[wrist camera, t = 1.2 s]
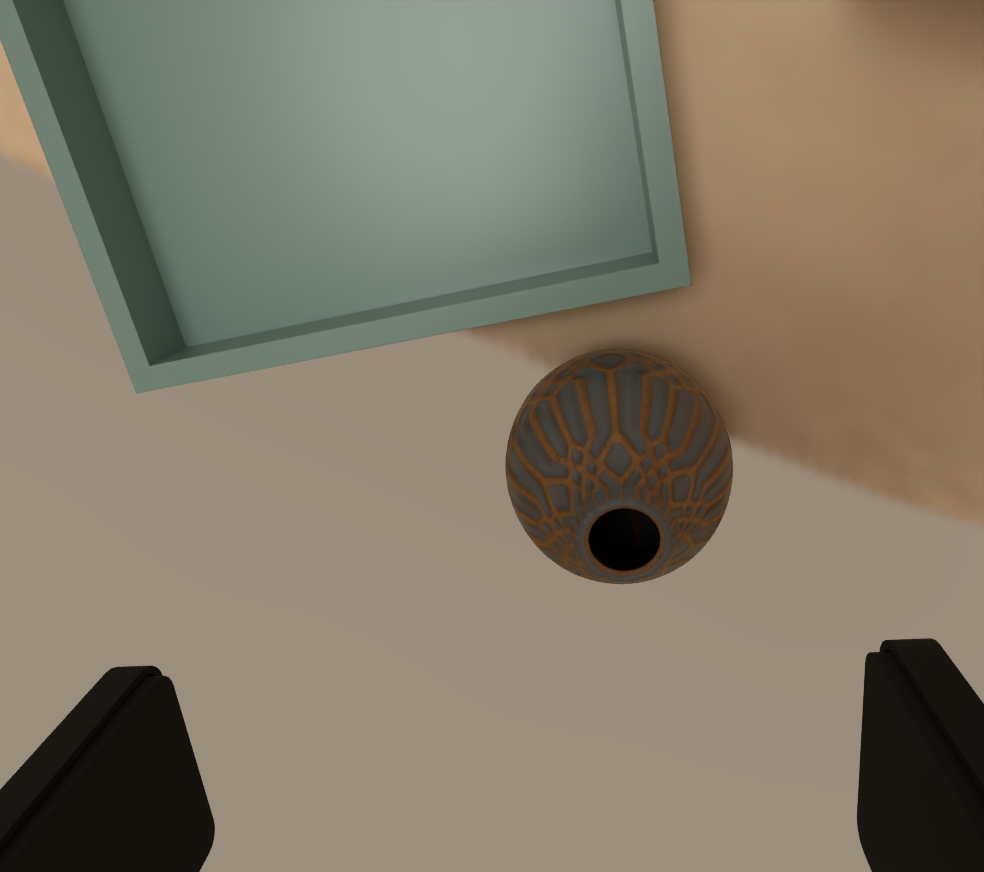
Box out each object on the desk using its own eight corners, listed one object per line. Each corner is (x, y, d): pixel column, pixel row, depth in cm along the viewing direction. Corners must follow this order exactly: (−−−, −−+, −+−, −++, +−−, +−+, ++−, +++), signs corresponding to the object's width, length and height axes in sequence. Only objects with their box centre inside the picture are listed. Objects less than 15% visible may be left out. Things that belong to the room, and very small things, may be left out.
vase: (749, 449, 27) (819, 579, 19) (585, 543, 29) (586, 697, 21) (642, 288, 26) (669, 356, 18) (477, 400, 28) (434, 506, 20)
